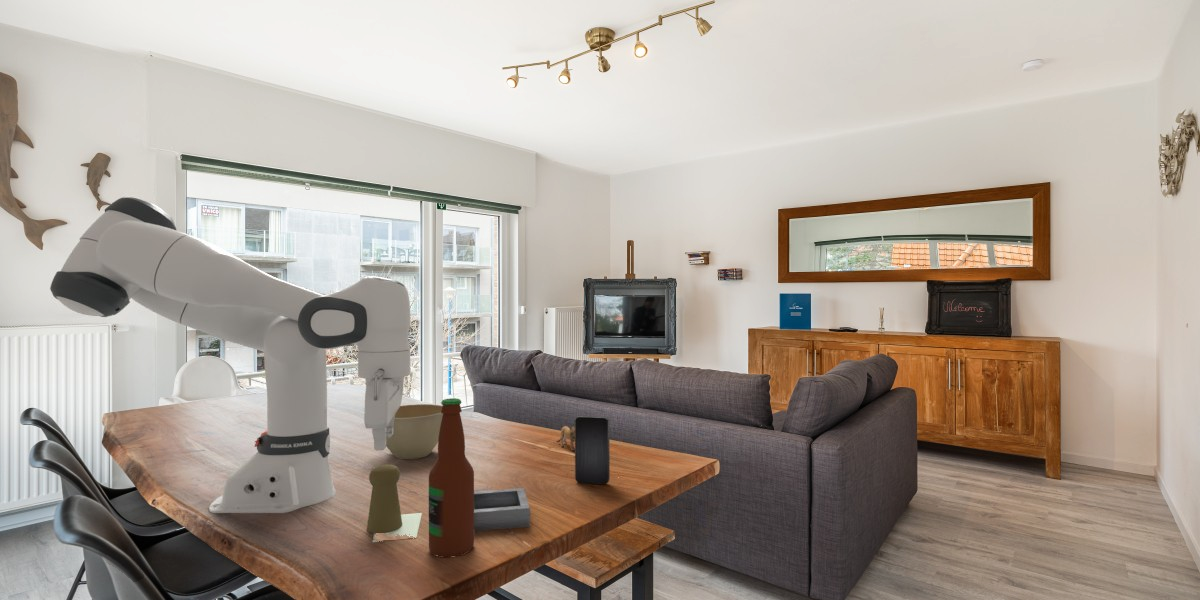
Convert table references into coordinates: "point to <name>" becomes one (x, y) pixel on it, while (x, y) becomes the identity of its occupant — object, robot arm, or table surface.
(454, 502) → the bottle
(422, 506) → the table surface
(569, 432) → the lion figurine
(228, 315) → the robot arm
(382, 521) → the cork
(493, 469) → the table surface
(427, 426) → the cream bowl
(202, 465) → the table surface
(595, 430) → the phone
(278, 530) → the table surface
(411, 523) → the mat
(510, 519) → the grey square tray
